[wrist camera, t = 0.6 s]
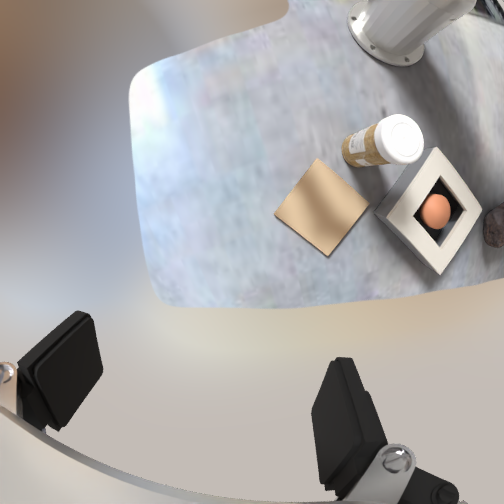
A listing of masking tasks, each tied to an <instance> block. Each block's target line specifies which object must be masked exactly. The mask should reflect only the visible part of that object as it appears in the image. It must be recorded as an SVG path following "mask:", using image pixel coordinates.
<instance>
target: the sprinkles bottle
mask: <svg viewBox="0 0 504 504" xmlns="http://www.w3.org/2000/svg"><path fill="white" fill-rule="evenodd" d="M423 149H424V139H423V135H422V132H421V130H420V128H419V126H418V125H417V124H416V123H415V122H414V121H413V120H412V119H411V118H409V117H407V116H405V115H401V114H396V115H392V116H389V117H387V118H384V119H383V120H381V121H380V122H379V123H378V124H374V125H372V126H370V127H367V128H365V129H363V130H361V131H359V132H357V133H355V134H352V135H350V136H348V137H347V138H346V139H345V140H344V142H343V144H342V154H343V157H344V159H345V160H346V162H347V163H349V164H350V165H352V166H354V167H365V166H374V165H384V164H390V163H392V164H395V165H406V164H412V163H414V162H416V161H417V160H418V159H419V158H420V156H421V155H422V152H423Z"/></svg>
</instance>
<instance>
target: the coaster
mask: <svg viewBox="0 0 504 504" xmlns="http://www.w3.org/2000/svg"><path fill="white" fill-rule="evenodd" d="M368 205H369V203H368V202H367V201H366V200H365V199H364V198H363V197H362V196H361V195H360V194H359V193H358V192H356V191H355V190H354V189H353V188H352V187H351V186H350V185H349V184H347V183H346V182H345V181H344V180H343V179H342V178H340V177H339V176H338V175H337V174H336V173H335V172H333V171H332V170H331V169H330V168H329V167H327V166H326V165H325V164H324V163H322V162H321V161H320V160H319V159H318V158H317V159H316V160H315V161H314V163H313V164H312V165H311V166H310V168H309V169H308V170H307V172H306V173H305V174H304V175H303V177H302V178H301V179H300V181H299V182H298V183H297V184H296V186H295V187H294V188H293V190H292V191H291V192H290V193H289V195H288V196H287V197H286V199H285V200H284V201H283V202H282V204H281V205H280V206H279V208H278V209H277V210H276V212H275V213H274V215H276V216H277V217H278V218H280V219H281V220H282V221H283V222H285V223H286V224H287V225H289V226H290V227H291V228H293V229H294V230H295V231H296V232H298V233H299V234H300V235H302V236H303V237H304V238H305V239H307V240H308V241H309V242H311V243H312V244H313V245H314V246H316V247H317V248H318V249H319V250H321V251H322V252H323V253H324V254H326V255H327V256H328V255H329V254H330V253H331V252H332V250H333V249H334V248H335V247H336V246H337V244H338V243H339V242H340V241H341V239H342V238H343V237H344V236H345V234H346V233H347V232H348V231H349V229H350V228H351V227H352V225H353V224H354V223H355V222H356V220H357V219H358V218H359V216H360V215H361V214H362V213H363V211H364V210H365V209H366V207H367V206H368Z"/></svg>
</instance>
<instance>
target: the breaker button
mask: <svg viewBox="0 0 504 504" xmlns="http://www.w3.org/2000/svg"><path fill="white" fill-rule="evenodd" d="M419 214H420V218H421V220H422V222H423V223H424V224H425V225H426V226H429V227H431V228H434V229H441V228H443V227H444V226H445V225H446V224H447V222H448V220H449V218H450V205H449V202H448V200H447V199H446V198H445V197H444V196H442V195H438V194H428V195H427V196H426V198H425V199H424V201H423V202H422V204H421V205H420V208H419Z"/></svg>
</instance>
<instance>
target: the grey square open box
mask: <svg viewBox="0 0 504 504" xmlns="http://www.w3.org/2000/svg"><path fill="white" fill-rule="evenodd" d="M437 179H439V180H440V182H441V183H442V184H443V185H444V187H445V188H446V189H447V191H448V192H449V193H450V194H451V196H452V197H453V198H454V200H455V201H456V203H457V204H458V207H457V208H456V210H455V211H454V213H453V215H452V216H451V218H450V219H449V221H448V222H447V224H446V225H445V227H444V228H443V230H442V231H441V233H440V234H439V236H438V237H437V239H436V240H435V241H434V240H433V239H432V238H431V236H430V235H429V234H428V233H427V232H426V230H425V229H424V228H423V227H422V226H421V225H420V224H419V222H418V221H417V220H416V219H415V218H414V217H413V215H414V214H415V212H416V211H417V209H418V208H419V207H420V205H421V204H422V202H423V201H424V199H425V198H426V196H427V195H428V193H429V192H430V190H431V189H432V187H433V186H434V184H435V183H436V181H437ZM481 211H482V208H481V206H480V205H479V203H478V201H477V200H476V198H475V197H474V195H473V194H472V192H471V191H470V189H469V188H468V186H467V185H466V184H465V182H464V181H463V179H462V178H461V177H460V175H459V174H458V173H457V171H456V170H455V169H454V167H453V166H452V165H451V163H450V162H449V161H448V160H447V158H446V157H445V156H444V155H443V153H442V152H441V151H440V150H439V148H438V147H435V148H426V149H423V152H422V155H421V156H420V158H419V159H418V160H417V161H416V162H414V163H412V164H408V166H407V167H406V169H405V170H404V172H403V173H402V174H401V176H400V177H399V179H398V180H397V181H396V183H395V184H394V186H393V187H392V188H391V190H390V191H389V193H388V194H387V195H386V197H385V198H384V199H383V201H382V202H381V203H380V205H379V206H378V207H377V209H376V210H375V211H374V214H375V215H376V216H377V217H378V218H379V219H380V220H381V221H382V222H383V223H384V224H385V225H386V226H387V227H388V228H389V229H390V230H391V231H392V232H393V233H394V234H395V235H396V236H397V237H398V238H399V239H400V240H401V241H402V242H403V243H404V244H405V245H406V246H407V247H408V248H409V249H410V250H411V251H412V252H413V253H414V254H415V255H416V257H417V258H418V259H419V260H420V261H421V262H422V263H423V264H424V265H426V266H427V267H429V268H430V269H432V270H433V271H435V272H436V273H438V274H439V275H440V274H441V273H442V272H443V270H444V269H445V268H446V266H447V265H448V263H449V262H450V261H451V259H452V258H453V256H454V255H455V253H456V252H457V250H458V249H459V247H460V246H461V244H462V243H463V241H464V240H465V238H466V236H467V235H468V233H469V232H470V230H471V228H472V227H473V225H474V223H475V222H476V220H477V218H478V217H479V215H480V213H481Z"/></svg>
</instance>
